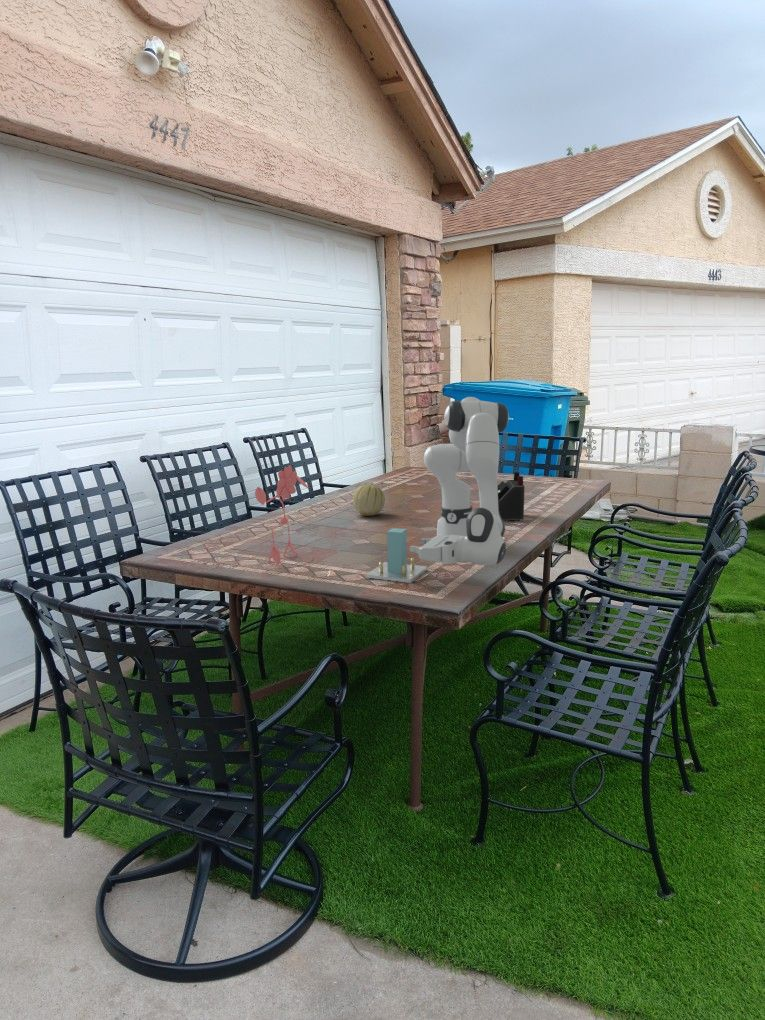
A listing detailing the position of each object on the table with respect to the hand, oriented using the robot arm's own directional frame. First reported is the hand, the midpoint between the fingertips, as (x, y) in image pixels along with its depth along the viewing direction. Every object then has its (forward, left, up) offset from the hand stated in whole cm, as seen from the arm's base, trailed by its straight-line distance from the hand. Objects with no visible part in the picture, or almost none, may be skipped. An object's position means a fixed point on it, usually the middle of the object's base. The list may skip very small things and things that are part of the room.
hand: (415, 544), depth 243 cm
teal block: (0, -7, -10) cm, 12 cm away
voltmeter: (-93, +6, -11) cm, 94 cm away
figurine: (-1, -49, -11) cm, 50 cm away
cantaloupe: (-79, -53, -11) cm, 96 cm away
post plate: (0, -7, -11) cm, 13 cm away
